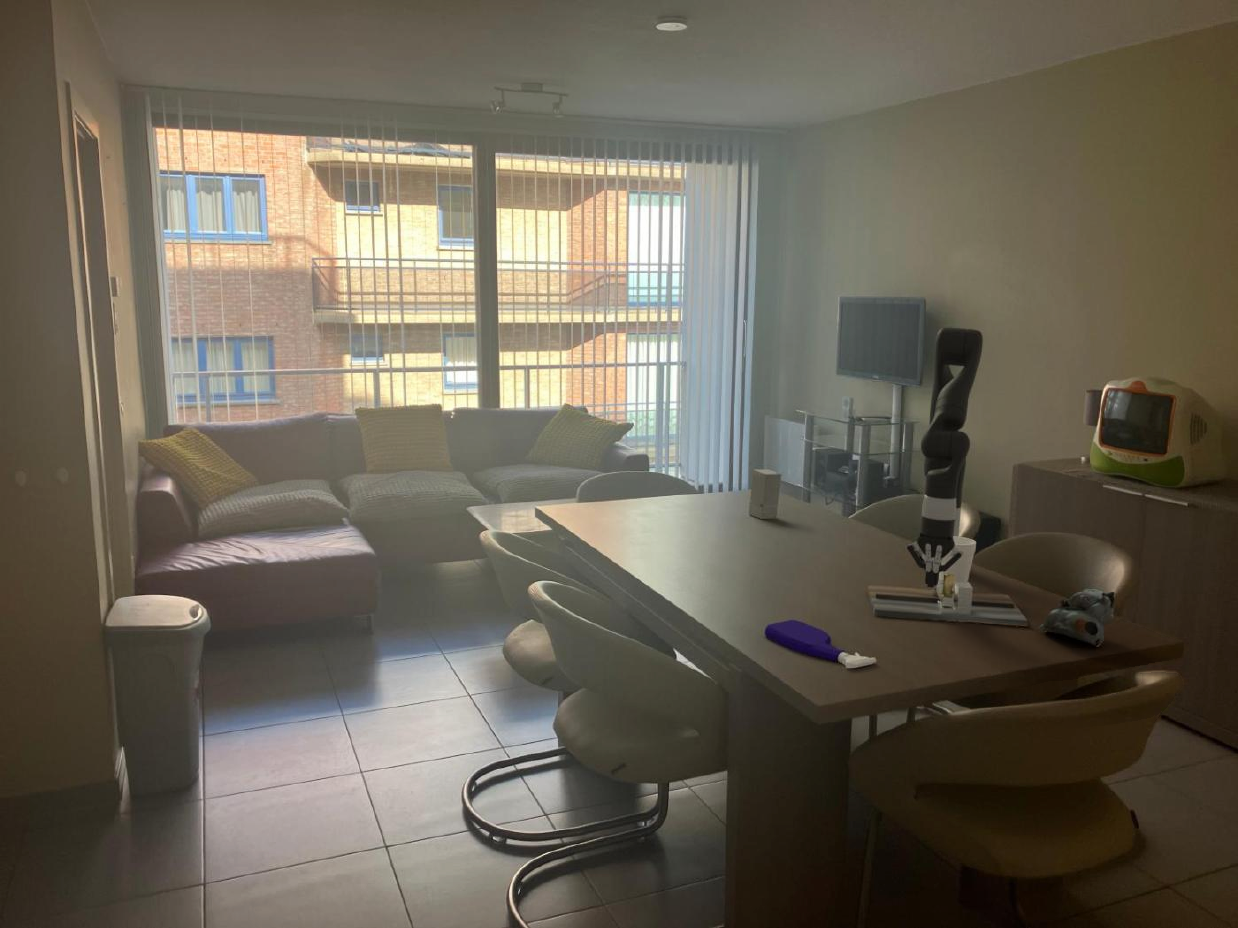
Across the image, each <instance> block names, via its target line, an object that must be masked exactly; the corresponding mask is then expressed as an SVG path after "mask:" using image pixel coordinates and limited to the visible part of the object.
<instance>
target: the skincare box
mask: <svg viewBox="0 0 1238 928" xmlns="http://www.w3.org/2000/svg"><path fill="white" fill-rule="evenodd" d="M781 481H782V473H779V472H777V471H774V470H770V469H756V468H755V469H753V472H752V481H751V488H750V489H751V490H750V498H749V499H750V500H749V507H748V515H749V516H753V517H754V518H757V519H760V520H771V519H773V520H775V519H777V517H778V515H777V514H778V506H779V498H780V490H781V489H780V488H781Z"/></svg>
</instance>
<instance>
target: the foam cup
mask: <svg viewBox="0 0 1238 928" xmlns="http://www.w3.org/2000/svg"><path fill="white" fill-rule="evenodd" d="M953 540H954V542H955V547H956V548H957V549H958V550H959V551H962V552H963V555H962V556H961V558H959V559H958V560H957V561H956V562H955V563H954V564H953V565H952V566H951V567H950V568H949V569H947V570H946V571H945V572H943V571H942V572H939V580H943V577H944V574H953V575H954V587H953V591H955V583H956V582H969V578H970V572H971V568H972V563H973V559H974V555H975V553H976V547H977V541H976V540H974V539H972V538H968V537H963V536H959V537H957V536H953ZM951 553H952V550H951V551H950V552H949V553H948V554H947V555H946V556H945V557H944V558H943V559H942V563H941V565H944V564H946V563H947V562H948V561H949V560H950V559H951V558H952V557H951Z"/></svg>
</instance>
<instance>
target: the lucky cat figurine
mask: <svg viewBox="0 0 1238 928" xmlns="http://www.w3.org/2000/svg"><path fill="white" fill-rule="evenodd" d="M1114 596H1115V591H1110V592H1107V593H1106V592H1105V591H1102V590H1099V589H1095V588H1085V589H1083V590H1082V591H1078V592H1076V593H1074V594H1073V595H1072V596H1071V597H1070V598H1069V599H1068V598H1066V597H1063V598H1062V599H1061V600H1060V601H1059V602H1060V605H1061V606H1060V607H1058V608H1057V609H1053V610H1051V611H1050V612H1049V613H1048V615H1047V616H1046V619H1045V622H1044V623H1042V624H1040V626H1039V629H1040V630H1043V632H1044V631H1047V633H1052V632H1054V634H1060V635H1062V636H1066V637H1069V638H1072V639H1075V640H1078V641H1082V642H1083V643H1087V644H1089V643H1090V644H1089V645H1091V644H1093V645H1096V646H1097V645H1099V644H1102V645H1103V643H1104V639H1105V628H1106V627H1107V625H1108V624H1109V623H1111V621H1112V620H1113V618H1114V611H1115V609H1114V604H1115V603H1114V602H1115V597H1114Z"/></svg>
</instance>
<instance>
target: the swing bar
mask: <svg viewBox="0 0 1238 928" xmlns="http://www.w3.org/2000/svg"><path fill="white" fill-rule="evenodd" d="M953 587H954V575H953V574H944V577H943V580H939V582H938V584H937V585H936V586H935V587H934V588H932V590H935V591H936V592H937V594H938V596H939V599H940V601H941V604H942V606H951V607H953V602H954V598H953Z"/></svg>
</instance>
